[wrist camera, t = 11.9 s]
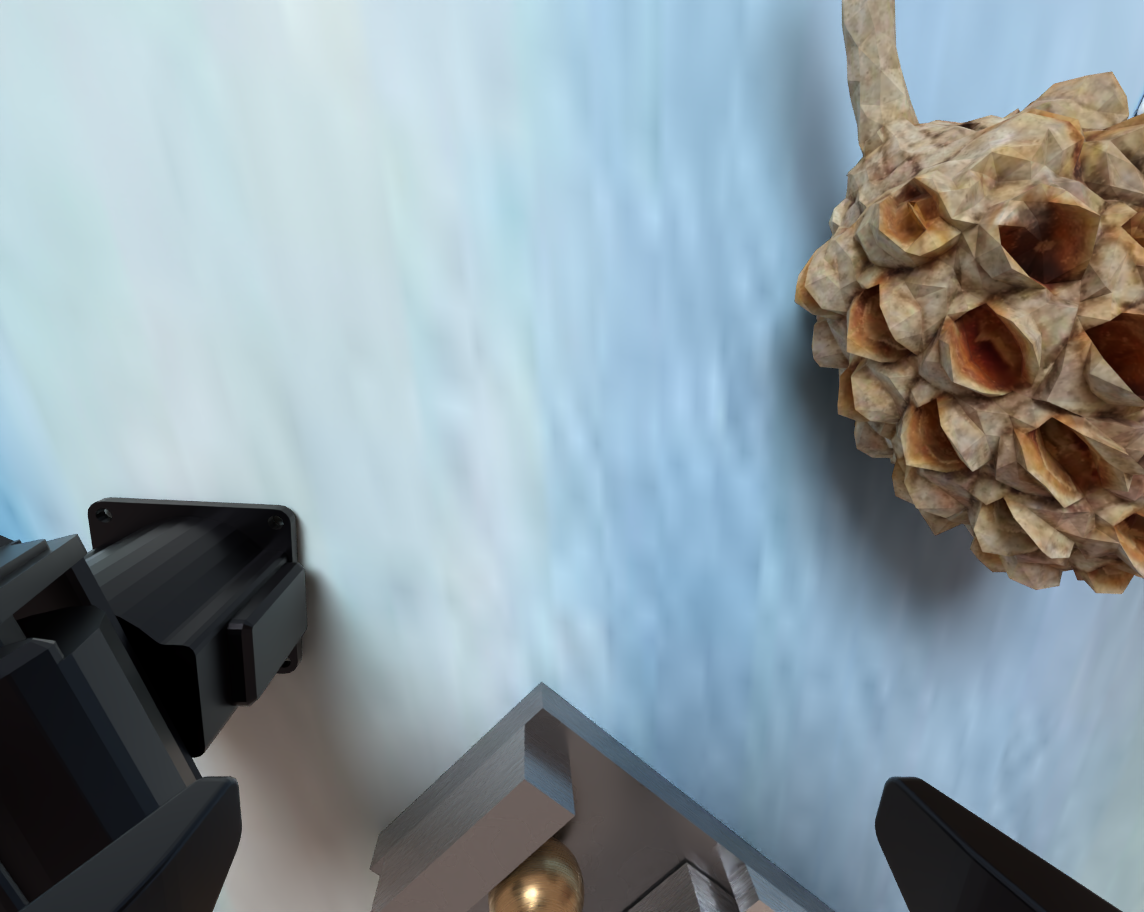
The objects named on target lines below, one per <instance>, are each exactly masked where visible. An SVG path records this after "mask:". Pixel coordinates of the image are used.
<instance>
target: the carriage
mask: <svg viewBox="0 0 1144 912" xmlns="http://www.w3.org/2000/svg"><path fill="white" fill-rule="evenodd" d="M628 912H740V910H739V907H738V905H737V902H736V899H735V898H734V897H733V896H731V895H730V894H729V893H727V892H726V891H725V890H723V889H722V888H721V887H719V886H718V885H717V884H715V883H714V882H713V881H711V880H710V879H709V878H707V877H706V876H704V875H703V874H702V873H700V872H699V871H698V870H696V869H695V868H694V867H692V866H691V865H690V864H688V863H687V862H686V863H685V864H684V865H682V866H681V867H680V868H679V869H678V870H676V871H675V872H674V873H673V874H672V875H670V876H669V877H668V878H667V879H666V880H665V881H663V882H662V883H661V884H660V885H659V886H657V887H656V888H655V889H654V890H653V891H651V892H650V893H649V894H648V895H647V896H646V897H644V898H643V899H642V900H641V901H640V902H638V903H637V904H636V905H635V906H634V907H632V908H631V909H630V910H629V911H628Z"/></svg>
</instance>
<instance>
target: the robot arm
mask: <svg viewBox="0 0 1144 912" xmlns="http://www.w3.org/2000/svg"><path fill="white" fill-rule="evenodd" d="M105 509H107V510H109V511H110V512H111V514H112V518H110V517H108V516H107V515H106V514H105V511H104V510H105ZM273 516H278V517H280V518H281V519H282V520H283V525H278V524H276V523H275V522H274V520H273ZM88 520H89V527H90V534H91V540H92V547H93V550H91V551H90V552H88V553H87V551H86V549H85V547H84V545H83V544H82V542H81V540H80V538H79V536H78V534H74V535H69V536H66V537H62V538H58V539H54V540H50V541H46V540H45V539H41V540H36V541H31V542H26V543H21V541H20V540H16V541H13V540H10V539H8V538H6V537H3V536H1V535H0V912H213V909H214V907H215V904H216V902H217V899H218V897H219V894H220V892H221V889H222V887H223V884H224V881H225V879H226V876H227V874H228V871H229V869H230V866H231V864H232V861H233V859H234V856H235V854H236V851H237V848H238V845H239V842H240V838H241V831H242V820H241V809H240V797H239V786H238V782H237V780H236V779H235V778H233V777H202V776H201V775H200V773H199V771H198V769H197V767H196V765H195V763H194V761H193V760H192V758H195V757H199V756H201V755H202V754H203V753H204V752H205V751H206V750H207V748H208V747H209V746H210V744H211V743H212V741H213V740H214V739H215V737H216V736H217V735H218V733H219V732H220V731H221V729H222V728H223V726H224V725H225V724H226V722H227V721H228V720H229V718H230V717H231V715H232V714H233V713H234V711H235V710H236V709H237V707H238V706H251V705H252V704H253V703H254V702H255V701H256V700H257V699H259V697H260V696H261V694H262V693H263V692H264V690H265V689H266V687H267V686H268V684H269V683H270V681H271V680H272V679H273V677H274V676H275V674H276V673H282V674H285V673H290V672H292V671H294V670H295V668H296V667H297V666H298V664H299V662H300V661H301V658H302V646H301V637H302V635H303V634H304V632H305V631H306V629H307V612H306V589H305V569H304V568H303V567H302V565H301V564H300V563H299V562H297V541H296V520H295V516H294V513H293V512H292V511H291V510H290V509H289V508H287V507H286V506H281V505H265V504H243V503H221V502H199V501H177V500H156V499H134V498H112V497H110V498H104V499H102V500H100V501H97V502H95V503H94V504H92V505H91V506H90V507H89V509H88ZM287 657H288V658H289V659H290V661H285V660H286V658H287ZM875 830H876V835H877V838H878V841H879V844H880V846H881V848H882V851H883V853H884V855H885V857H886V860H887V862H888V864H889V866H890V869H891V871H892V873H893V875H894V878H895V880H896V882H897V884H898V887H899V889H900V891H901V893H902V896H903V898H904V900H905V902H906V905H907V907H908V909H909V911H910V912H1122V911H1121V910H1119V909H1118V908H1116V907H1115V906H1113V905H1112V904H1110V903H1109V902H1107V901H1105V900H1104V899H1102V898H1101V897H1099V896H1098V895H1096V894H1095V893H1093V892H1092V891H1090V890H1089V889H1087V888H1086V887H1084V886H1083V885H1081V884H1080V883H1078V882H1077V881H1075V880H1074V879H1072V878H1071V877H1069V876H1068V875H1066V874H1065V873H1063V872H1061V871H1060V870H1058V869H1057V868H1055V867H1054V866H1052V865H1051V864H1049V863H1048V862H1046V861H1045V860H1043V859H1042V858H1040V857H1039V856H1037V855H1036V854H1034V853H1033V852H1031V851H1030V850H1028V849H1027V848H1025V847H1024V846H1022V845H1021V844H1019V843H1017V842H1016V841H1014V840H1013V839H1011V838H1010V837H1008V836H1007V835H1005V834H1004V833H1002V832H1001V831H999V830H998V829H996V828H995V827H993V826H992V825H990V824H989V823H987V822H986V821H984V820H983V819H981V818H980V817H978V816H977V815H975V814H973V813H972V812H970V811H969V810H967V809H966V808H964V807H963V806H961V805H960V804H958V803H957V802H955V801H954V800H952V799H951V798H949V797H948V796H946V795H945V794H943V793H942V792H940V791H939V790H937V789H936V788H934V787H932V786H931V785H929V784H928V783H926V782H925V781H923V780H922V779H919V778H916V777H891V778H889V779H888V780H887V781H886V783H885V785H884V789H883V793H882V796H881V800H880V804H879V807H878V811H877V815H876V819H875Z"/></svg>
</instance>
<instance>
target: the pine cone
mask: <svg viewBox="0 0 1144 912" xmlns="http://www.w3.org/2000/svg"><path fill="white" fill-rule="evenodd" d="M842 29H843V35H844V41H845V48H846V54H847V80H848V86H849V92H850V98H851V103H852V106H853V110H854V114H855V118H856V122H857V128H858V141H859V146H860V148H861V150H862V153H863V157H862V159H861V160H860V161H859V162H858V164H857V165H856V166H855V167H854V168H853V169H852V170H851V171H849V172H848V175H847V176H848V183H847V192H846V198H845V199H844V200H843V201H842V202H841V203H840V204H839V205H838V206H836V207H835V208H834V210H833V213H832V215H831V218H830V221H829V226H830V229H831V232H832V236H831V239H830V240H828V241H827V242H826V243H825V244H823V245H822V246H821V247H820V248H818V249H817V250H816V251H815V252H814V254H813V255H812V256H811V258H810V259H809V261H808V262H807V264H806V265H805V267H804V268H803V270H802V271H801V272H800V274H799V276H798V281H797V286H796V294H795V302H796V303H797V304H798V305H800V306H801V307H803V308H804V309H806V310H807V311H809V312H810V313H811V314H813V315H817V317H816V319H817V322H816V323H815V324H814V331H813V339H812V352H813V358H814V360H815V361H816V362H817V364H818V365H819V366H820V367H827V368H837V369H839V395H838V414H839V415H842V416H844V417H847V418H850V419H852V420H855V424H854V425H855V430H854V436H855V442H856V447H857V449H858V450H860V451H862V452H863V453H865V454H867V455H869V456H870V457H872V458H890V461H891V463H892V464H895V466H894V470H893V473H892V480H893V486H894V491H895V496H896V497H898V498H901V499H903V500H905V501H907V502H910V503H912V504H914V505H915V507H916V508H917V509H919V511H920V513H921V515H922V516H923V518H924V519H925V521H926V522H927V524H928V526H929V527H930V529H931V530H932V532H933V534H934V535H935V536H936V535H938V534H940V533H942V532H945V531H947V530H949V529H951V528H953V527H956V526H958V525H960V524H964V525H965V526H966V528H967V529H968V531H969V532H970V534H971V535H972V537H973V540H972V544H971V547H970V550H971V551H972V552H973V553H974V555H975V556H976V557H977V558H978V559H979V560H980V561H981V562H982V563H983V564H984V565H985V566H986V567H987V568H989V569H990V570H991V571H992V572H1007V574H1008V576H1009V578H1010V579H1012V580H1014V581H1017V582H1019V583H1021V584H1024V585H1026V586H1028V587H1030V588H1033V589H1035V590H1039V589H1044V588H1049V587H1055V586H1059V584H1060V580H1061V575H1062V572H1063V571H1068V570H1074V572H1075V575H1076V578H1077V580H1084V581H1085V582H1086V583H1087V584H1088V585H1089V586H1090V587H1091V588H1092V589H1093V590H1094V591H1095V592H1096V593H1111V594H1122V593H1123V592H1124V590H1125V589H1126V587H1127V586H1128V584H1129V582H1130V581H1131V579H1132V578H1133V576H1134V575H1136V576H1138V577H1141V578H1143V579H1144V113H1143V114H1140V115H1138V116H1135V117H1133V118H1130V119H1128V120H1127V118H1128V116H1129V110H1128V103H1127V96H1126V94H1125V93H1124V91H1123V89H1122V88H1121V86H1120V84H1119V82H1118V81H1117V79H1116V77H1115V76H1114V74H1113V72H1106V73H1100V74H1094V75H1088V76H1084V77H1080V78H1076V79H1072V80H1068V81H1064V82H1060V83H1056V84H1053V85H1052V86H1051V87H1050V88H1049V89H1048V90H1047V91H1046V92H1044V93H1043V94H1042V95H1041V96H1040V97H1039V98H1038V99H1037V100H1035V101H1033V102H1032V103H1030V104H1029V105H1028V106H1027V107H1026V108H1025V109H1024V110H1023V111H1021V112H1020V111H1019V109H1016V110H1015V111H1013V112H1012V113H1010V114H1009V115H1007V116H1006V117H1004V118H1000V117H997V116H993V115H990V116H986V117H983V118H979V119H976V120H972V121H969V122H965V123H956V122H948V121H941V120H936V121H933V122H930V123H925V124H919V122H918V120H917V117H916V114H915V112H914V109H913V107H912V104H911V101H910V97H909V94H908V91H907V87H906V84H905V81H904V77H903V74H902V71H901V67H900V63H899V58H898V54H897V49H896V32H895V0H842Z"/></svg>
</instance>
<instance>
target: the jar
mask: <svg viewBox="0 0 1144 912" xmlns="http://www.w3.org/2000/svg"><path fill="white" fill-rule="evenodd" d="M1143 113H1144V98H1143V100H1142V102H1141V104H1140V106H1139V109H1138V112H1137V116H1138V115H1140V114H1143Z"/></svg>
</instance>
